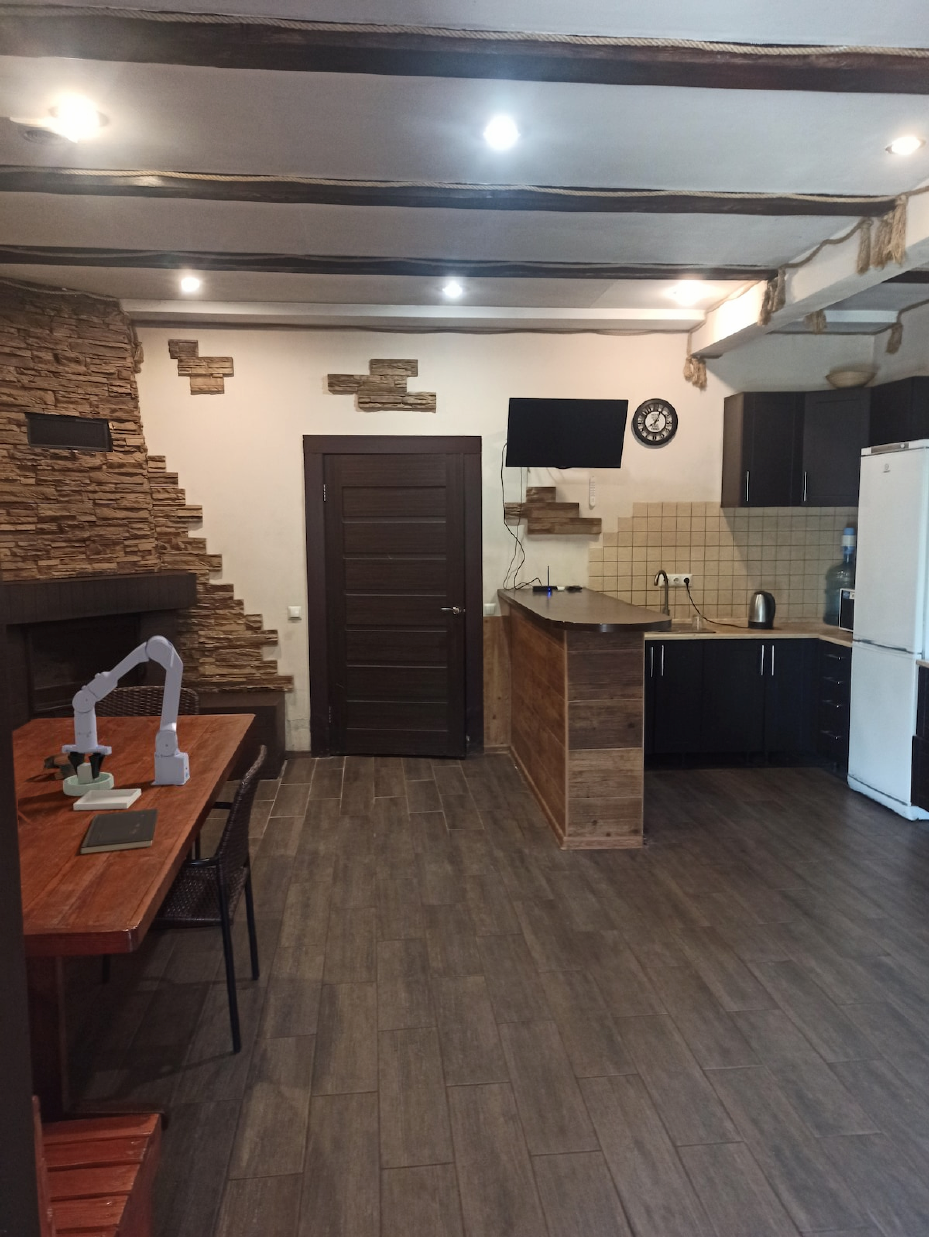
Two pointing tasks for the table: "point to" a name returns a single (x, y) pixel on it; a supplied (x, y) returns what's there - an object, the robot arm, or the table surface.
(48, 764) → the pottery mug
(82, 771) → the block
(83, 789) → the bowl
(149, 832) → the hardcover book
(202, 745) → the table surface
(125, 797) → the tray
